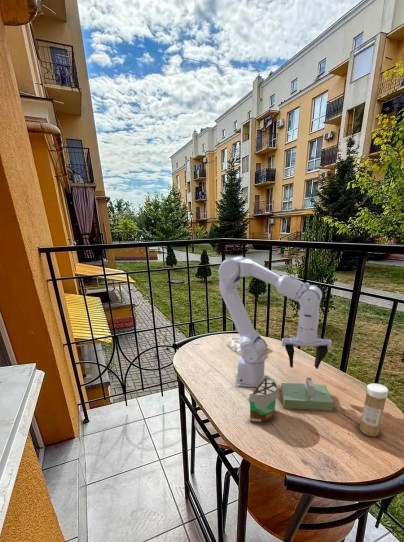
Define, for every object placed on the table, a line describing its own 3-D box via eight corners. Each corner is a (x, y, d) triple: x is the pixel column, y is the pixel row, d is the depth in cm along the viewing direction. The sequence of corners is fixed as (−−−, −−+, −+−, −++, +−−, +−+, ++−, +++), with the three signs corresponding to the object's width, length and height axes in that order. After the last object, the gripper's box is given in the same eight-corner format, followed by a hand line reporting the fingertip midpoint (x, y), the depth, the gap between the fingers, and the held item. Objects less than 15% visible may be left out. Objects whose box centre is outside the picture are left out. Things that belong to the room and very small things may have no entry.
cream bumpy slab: (272, 351, 124) (246, 360, 117) (246, 339, 138) (222, 346, 132) (272, 344, 123) (246, 352, 116) (246, 333, 137) (222, 339, 130)
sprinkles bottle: (382, 432, 74) (392, 388, 69) (373, 439, 71) (383, 394, 67) (364, 423, 77) (373, 380, 72) (355, 429, 75) (363, 386, 70)
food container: (269, 432, 75) (271, 400, 72) (248, 425, 79) (248, 394, 75) (283, 408, 85) (285, 379, 82) (263, 402, 88) (265, 374, 85)
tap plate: (283, 408, 85) (284, 399, 84) (280, 390, 94) (281, 382, 93) (332, 411, 83) (334, 402, 82) (324, 392, 92) (325, 384, 91)
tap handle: (313, 396, 85) (314, 385, 83) (308, 396, 85) (309, 385, 84) (310, 387, 90) (311, 377, 88) (305, 387, 90) (306, 376, 88)
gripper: (329, 323, 87) (324, 362, 92) (281, 322, 90) (279, 360, 95) (335, 330, 81) (330, 372, 86) (283, 329, 83) (281, 370, 88)
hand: (303, 366), depth 90 cm, fingers open, 7 cm apart
